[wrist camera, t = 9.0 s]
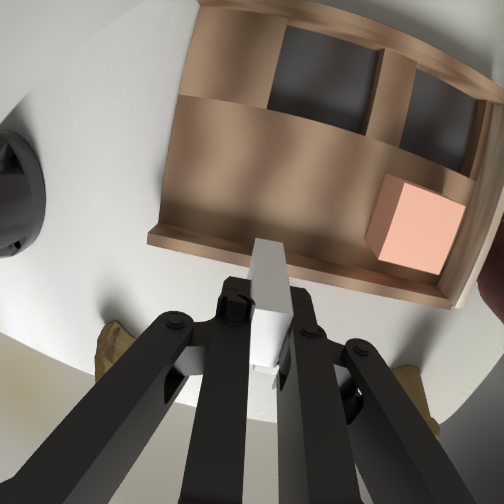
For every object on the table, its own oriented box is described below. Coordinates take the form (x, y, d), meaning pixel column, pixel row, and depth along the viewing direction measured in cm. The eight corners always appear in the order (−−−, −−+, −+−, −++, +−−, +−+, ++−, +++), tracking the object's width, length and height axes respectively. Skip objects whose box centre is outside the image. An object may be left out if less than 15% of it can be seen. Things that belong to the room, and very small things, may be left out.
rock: (74, 325, 31) (96, 390, 34) (80, 362, 24) (109, 433, 27) (157, 306, 37) (169, 371, 40) (183, 336, 30) (195, 407, 33)
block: (364, 240, 25) (378, 259, 22) (385, 173, 23) (404, 182, 19) (420, 255, 26) (438, 274, 22) (442, 194, 23) (465, 206, 20)
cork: (420, 359, 33) (451, 425, 23) (418, 388, 35) (442, 450, 25) (376, 373, 34) (398, 444, 24) (378, 401, 36) (395, 466, 26)
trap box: (164, 226, 28) (139, 251, 23) (208, 4, 20) (191, -23, 14) (432, 287, 29) (456, 318, 23) (490, 99, 21) (528, 100, 15)
